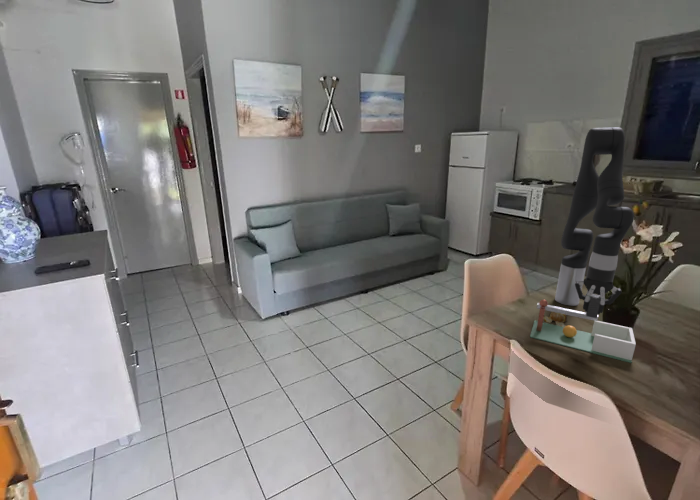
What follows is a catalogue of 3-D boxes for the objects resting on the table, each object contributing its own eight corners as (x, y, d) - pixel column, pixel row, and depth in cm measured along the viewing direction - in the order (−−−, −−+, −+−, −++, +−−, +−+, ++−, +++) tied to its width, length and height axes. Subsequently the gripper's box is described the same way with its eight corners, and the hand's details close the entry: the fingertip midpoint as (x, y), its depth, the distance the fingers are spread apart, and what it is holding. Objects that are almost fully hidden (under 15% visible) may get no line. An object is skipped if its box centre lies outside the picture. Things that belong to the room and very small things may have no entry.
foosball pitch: (534, 321, 143) (536, 306, 141) (627, 342, 128) (631, 326, 126) (529, 337, 132) (532, 321, 130) (631, 363, 116) (636, 345, 115)
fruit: (541, 321, 144) (542, 312, 142) (549, 314, 149) (551, 306, 148) (563, 328, 138) (565, 320, 137) (571, 321, 143) (573, 313, 142)
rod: (534, 324, 139) (540, 284, 133) (592, 338, 129) (602, 295, 124) (532, 329, 135) (539, 288, 130) (592, 344, 126) (602, 300, 121)
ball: (562, 332, 134) (564, 321, 133) (575, 335, 132) (578, 325, 130) (561, 337, 131) (563, 327, 129) (575, 341, 128) (577, 330, 127)
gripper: (627, 266, 119) (615, 312, 124) (577, 258, 126) (569, 303, 132) (629, 273, 113) (617, 321, 118) (577, 265, 120) (568, 311, 126)
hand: (592, 311), depth 125 cm, fingers closed on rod, 3 cm apart
